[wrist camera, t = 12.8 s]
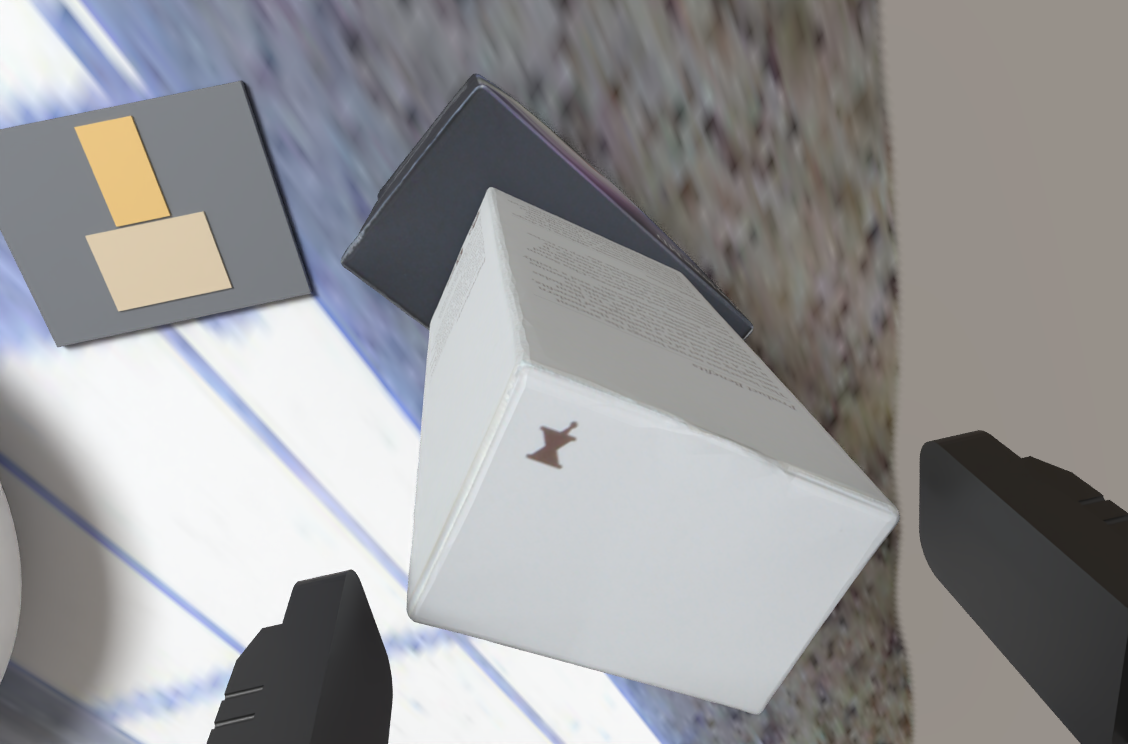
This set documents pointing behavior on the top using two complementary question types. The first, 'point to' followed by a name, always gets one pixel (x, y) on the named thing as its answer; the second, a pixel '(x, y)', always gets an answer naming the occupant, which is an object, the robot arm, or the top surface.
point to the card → (146, 214)
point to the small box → (457, 188)
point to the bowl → (8, 584)
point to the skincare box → (622, 472)
